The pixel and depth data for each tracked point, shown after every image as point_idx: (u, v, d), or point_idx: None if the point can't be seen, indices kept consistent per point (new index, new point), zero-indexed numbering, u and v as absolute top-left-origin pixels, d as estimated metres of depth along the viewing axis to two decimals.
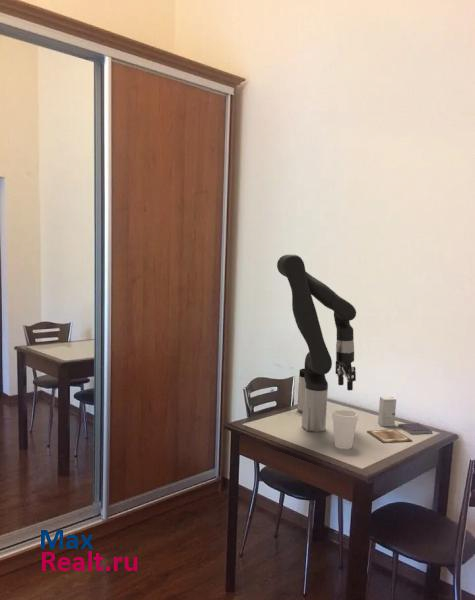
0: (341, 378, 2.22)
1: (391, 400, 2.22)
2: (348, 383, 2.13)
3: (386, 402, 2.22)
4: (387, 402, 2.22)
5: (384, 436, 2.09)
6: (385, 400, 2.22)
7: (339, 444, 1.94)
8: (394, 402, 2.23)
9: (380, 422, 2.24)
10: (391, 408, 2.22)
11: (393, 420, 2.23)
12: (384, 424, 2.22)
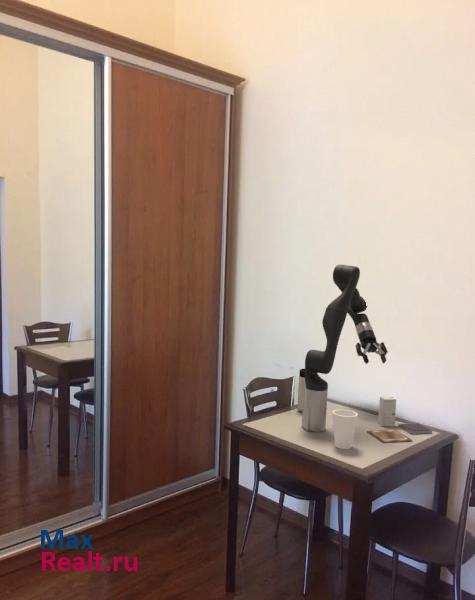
0: None
1: (391, 400, 2.22)
2: (383, 355, 2.37)
3: (386, 402, 2.22)
4: (387, 402, 2.22)
5: (384, 436, 2.09)
6: (385, 400, 2.22)
7: (339, 444, 1.94)
8: (394, 402, 2.23)
9: (380, 422, 2.24)
10: (391, 408, 2.22)
11: (393, 420, 2.23)
12: (384, 424, 2.22)
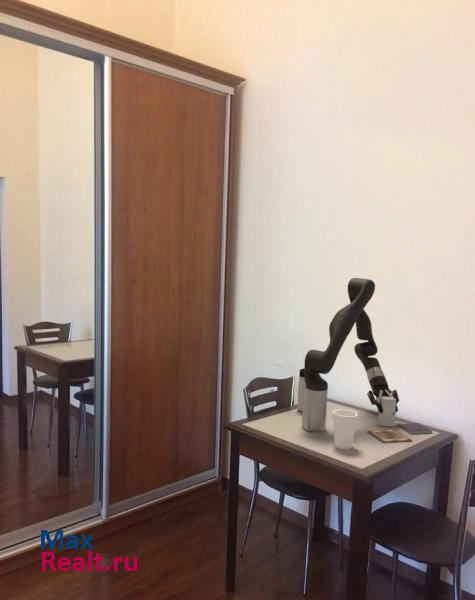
0: None
1: (391, 400, 2.22)
2: None
3: (386, 402, 2.22)
4: (387, 401, 2.22)
5: (384, 436, 2.09)
6: (385, 400, 2.22)
7: (339, 444, 1.94)
8: (393, 402, 2.23)
9: (380, 422, 2.24)
10: (391, 408, 2.22)
11: (393, 420, 2.23)
12: (384, 424, 2.22)
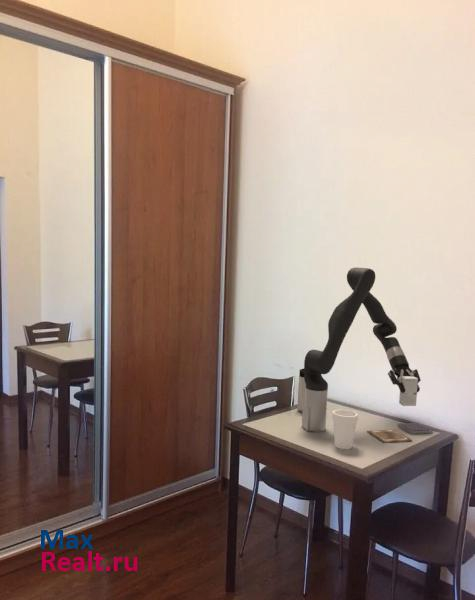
0: None
1: (413, 379, 2.18)
2: None
3: (408, 382, 2.18)
4: (409, 381, 2.18)
5: (384, 436, 2.09)
6: (407, 379, 2.18)
7: (339, 444, 1.94)
8: (415, 382, 2.19)
9: (401, 402, 2.20)
10: (412, 387, 2.19)
11: (415, 400, 2.19)
12: (406, 404, 2.19)
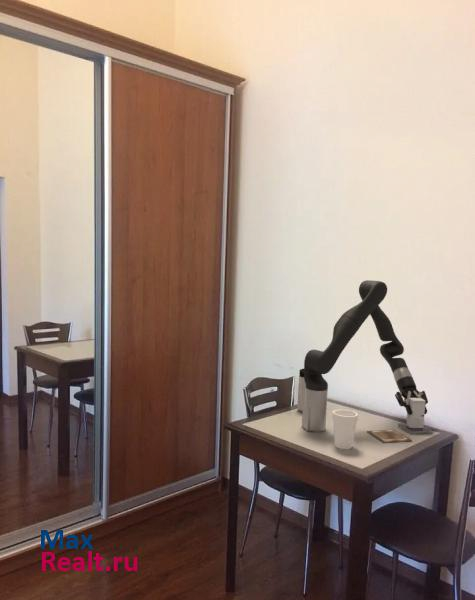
0: None
1: (420, 401, 2.17)
2: None
3: (415, 404, 2.17)
4: (416, 403, 2.17)
5: (384, 436, 2.09)
6: (414, 401, 2.16)
7: (339, 444, 1.94)
8: (423, 404, 2.17)
9: (409, 424, 2.18)
10: (420, 409, 2.17)
11: (422, 422, 2.18)
12: (413, 426, 2.17)
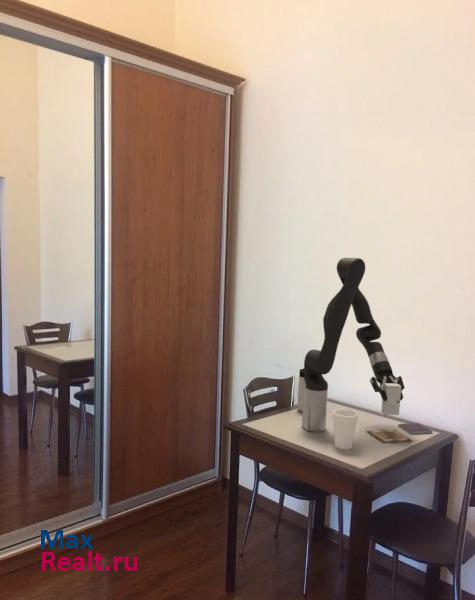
0: None
1: (396, 387, 2.06)
2: None
3: (391, 389, 2.06)
4: (392, 388, 2.06)
5: (384, 436, 2.09)
6: (389, 387, 2.06)
7: (339, 444, 1.94)
8: (398, 389, 2.07)
9: (384, 410, 2.08)
10: (395, 395, 2.06)
11: (398, 408, 2.07)
12: (388, 413, 2.07)
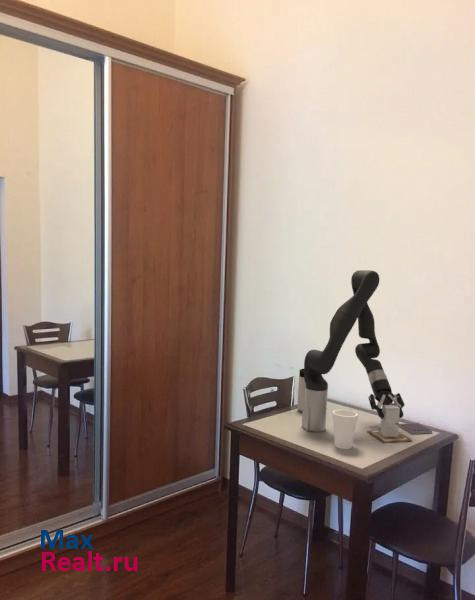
0: None
1: (394, 409, 2.07)
2: (400, 409, 2.10)
3: (389, 411, 2.07)
4: (391, 410, 2.07)
5: None
6: (388, 409, 2.07)
7: (339, 444, 1.94)
8: (397, 411, 2.08)
9: (383, 432, 2.09)
10: (394, 417, 2.08)
11: (396, 430, 2.08)
12: (387, 435, 2.08)
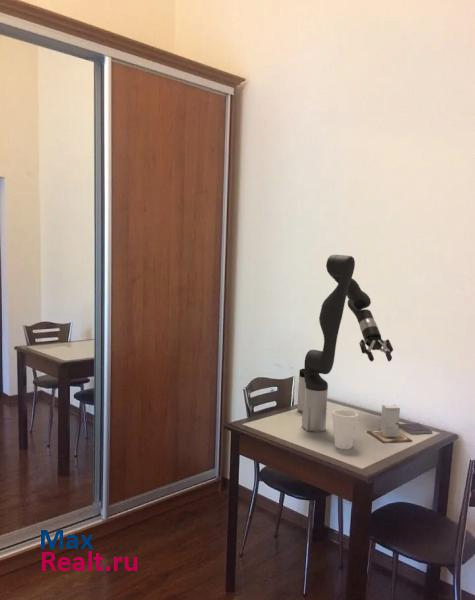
0: None
1: (394, 409, 2.07)
2: (389, 353, 2.25)
3: (389, 411, 2.07)
4: (391, 410, 2.07)
5: None
6: (388, 409, 2.07)
7: (339, 444, 1.94)
8: (397, 411, 2.08)
9: (383, 432, 2.09)
10: (394, 417, 2.08)
11: (396, 430, 2.08)
12: (387, 435, 2.08)
